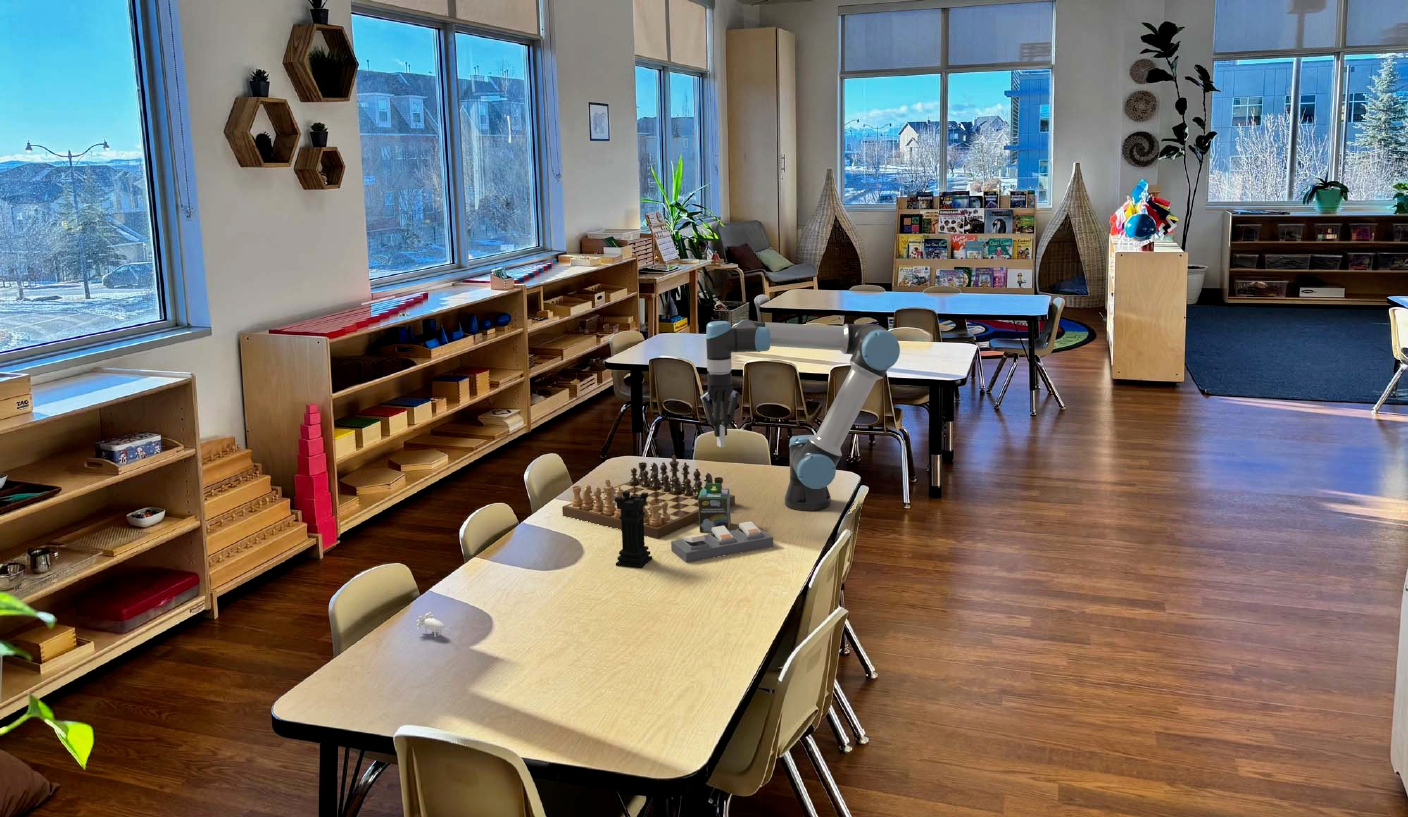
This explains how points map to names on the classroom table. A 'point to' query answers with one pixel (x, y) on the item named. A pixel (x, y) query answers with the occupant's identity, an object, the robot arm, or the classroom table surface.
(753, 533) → the rocker
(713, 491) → the chalk box
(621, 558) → the chess piece
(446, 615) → the classroom table surface
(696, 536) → the rocker
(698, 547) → the rocker switch panel
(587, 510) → the chess set
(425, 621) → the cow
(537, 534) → the classroom table surface
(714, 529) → the middle rocker
